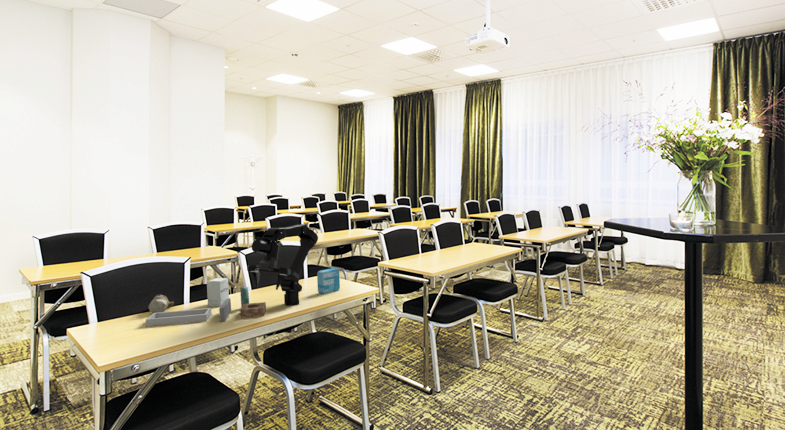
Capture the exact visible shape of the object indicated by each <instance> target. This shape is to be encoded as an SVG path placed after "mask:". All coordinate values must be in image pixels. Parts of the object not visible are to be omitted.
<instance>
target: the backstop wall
mask: <svg viewBox="0 0 785 430" xmlns="http://www.w3.org/2000/svg"><path fill="white" fill-rule="evenodd" d="M231 303H232V301H231V298H229V299H225V301H224V302H223V304H222V305H221V307H219V308H218V310H219V311H218V312H219V322H220V323H222V322H223V323H224V322H226V321H227V319H228V317H229V315H230V314H231V312H232V304H231Z"/></svg>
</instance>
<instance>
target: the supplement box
mask: <svg viewBox="0 0 785 430" xmlns="http://www.w3.org/2000/svg"><path fill="white" fill-rule="evenodd" d="M206 290H207V292H206V294H207V295H206V296H207V307H219V308H220V307H221V305H222V304H223V302H224V301H225V299H230V294H229V293H230V292H229V278H228V277H227V278H226V277H221V278H220V277H216V278H213V279H210V280H207V281H206Z"/></svg>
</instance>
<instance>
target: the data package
mask: <svg viewBox="0 0 785 430" xmlns="http://www.w3.org/2000/svg"><path fill="white" fill-rule="evenodd" d="M316 274H317V275H316V278H317V279H316V280H317V292H318V293H319V294H323V295H326V294H330V293H333V292H338V291H339V290H340V288H341V287H340V286H341V284H340V280H341V279H340V269H338V268H333V267H331V268H326V269H321V270H318V271H317V273H316ZM337 290H338V291H337Z"/></svg>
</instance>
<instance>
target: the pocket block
mask: <svg viewBox="0 0 785 430" xmlns="http://www.w3.org/2000/svg"><path fill="white" fill-rule="evenodd" d="M266 305H267V302H266V301H264V302H263V301H262V302H254V303H253V302H252V303H250V302H249V304H243V306H242V307H241V306H240V310H239V313H240V319H247V318H248V319H249V318H260V317H265V315H266V312H267V307H266Z"/></svg>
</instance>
